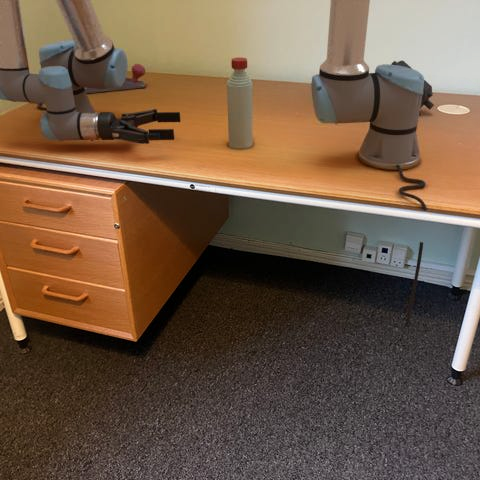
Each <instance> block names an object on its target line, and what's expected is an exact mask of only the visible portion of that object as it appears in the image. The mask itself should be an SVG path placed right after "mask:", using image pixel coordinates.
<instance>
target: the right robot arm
mask: <svg viewBox="0 0 480 480" xmlns="http://www.w3.org/2000/svg"><path fill="white" fill-rule="evenodd" d="M370 3H371V0H330V4H329V5H330V7H329V19H328V33H327V34H328V35H327V50H326V59H325V60H324V61H323V62H322V63H320V65H319V72H318V73H316V74H314V75H312V76H311V83H310V85H311V87H310V88H311V99H312V106H313V111H314V114H315V118H316V119H317V120H318V122H320V123H321V124H334V125H338V124H355V123H356V124H357V123H369V126H368V130H367V132H366V135H364V136H365V137H364V138H363V141H362V143H361V145H360V147H359V151H358V159H359V160H360V162H362V163H363V164H364V165H367V166H369V167H372V168H374V169H378V170H385V171H398V173H399V176H400V178H401V179H402V180H404V181H405V182H410V183H419V184H412V185H411V184H410V185H404V186H401V187H399V189H398V193H399V195H401V196H403V197H408V198H411V199H413V200H415V201H416V202H418V203H419V204H420V205H421V207H422V210H423V211H425V212H426V211H428V207H427V206H426V203H425V202H424V200H423V199H422V198H421V197H419V196H417V195H415V194H412V193H408V192H406V191H405V190H412V189H420V188H424V187H425V186H426V182H425V181H424V180H423V179H418V178H410V177H406V176H405V175H404V172H403V170H408V169H412V168H414V167H416V166H418V164H419V163H420V158H421V153H420V151H421V150H420V146H419V140H418V135H417V130H418V124H419V119H420V111H421V109H420V107H421V101H422V95H423V93H424V92H423V86H424V80H425V77H424V75H423V74H422V73H421V72H420V71H418V70H416V69H413V68H412V67H411V68H412V69H411V68H407V67H403V66H398V65H391V64H386V63H385V64H379V65H377V66H376V68H375V69H374V72H370V66H369V65H368V64H367V62H366V61H365V51H366V42H367V41H366V40H367V31H368V22H369V14H370ZM423 248H424V242H422V241H419V246H418V253H417V254H418V255H417V260H416V265H415V273H414V278H413V283H412V287H411V291H410V292H411V293H410V298H409V301H408V307H407V312H406V318H405V323H404V327H405V328H408V327H409V324H410V319H411V313H412V308H413V303H414V299H415V293H416V288H417V284H418V280H419V274H420V270H421V269H420V268H421V262H422V257H423V250H424V249H423Z"/></svg>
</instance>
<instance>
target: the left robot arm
mask: <svg viewBox="0 0 480 480" xmlns="http://www.w3.org/2000/svg"><path fill="white" fill-rule="evenodd" d="M55 2H56V5H57V7H58V10H59V11H60V13H61V16H62V18H63V20H64V23H65V25H66V27H67V29H68V32H69V33H70V37H71V38H72V39H71V40H62V41H57V42H52V43H49V44H45V45H43V46H41V47H40V48H39V49H38V57H39V65H40V69H39V71H38V73H31V72H30V67H29V59H28V51H27V45H26V44H27V43H26V37H25V29H24V22H23V21H24V20H23V15H22V6H21V0H0V100H2V101H9V102H13V103H31V104H37V108H38V109H39V110H45V112H44V113H43V114H42V115H41V117H40V120H39V123H40V131H41V134H42V136H43V137H44V139H46V140H48V141H59V142H64V141H90V142H92V143H93V142H94V141H100V140H102V141H114V140H120V141H125V142H131V143H136V144H140V145H141V144H142V145H144V144H145V145H148V144H150V141H174V140H175V129H174V128H149V129H148V130H145V129H144V128H140V126H144V125H147V124H151V123H155V122H157V123H181V112H180V111H158V108H153V109H149V110H143V111H135V112H130V113H129V112H127V113H121V117H116V115H115V113H114V112H113V111H101V112H98V111H96V110H95V107H94V105H92V103H91V101H90V99H89V96H88V93H86V92H85V88H96V89H106V90H109V89H118V88H120V87H121V86H122V85H123V83H124V81H125V79H126V78H127V75H128V67H129V65H128V58H127V54H126V52H125V50H123V49H121V48H120V47H119V48H116V47H115V45H114V43H113V39H111V37H109V36H108V35H107V34H104V31H103V29H102V26H101V23H100V21H99V19H98V15H97V13H96V10H95V8H94V6H93V3H92V0H55ZM42 104H43V105H45V106H42Z"/></svg>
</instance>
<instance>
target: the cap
mask: <svg viewBox="0 0 480 480" xmlns="http://www.w3.org/2000/svg"><path fill="white" fill-rule="evenodd" d="M230 62H231V69H232V70H234V69H237V70H241V69H245V70H246V69H247V68H248V58H246V57H240V56H239V57H233V58H231V61H230Z"/></svg>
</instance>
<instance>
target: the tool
mask: <svg viewBox="0 0 480 480" xmlns="http://www.w3.org/2000/svg"><path fill="white" fill-rule="evenodd" d="M390 65H398V66H403V67H407V68H411V69H413V68H412V67H411V66H410V65H409V64H408V63H406V61H404V60H399V61H395V60H394V61H392V62H391V63H390ZM423 92H424V93H423V95H422V101H421V107H420V110H421V109H422V108H423V107H426V108H427V109H428V110H430V111H431V109H433V107H434V106H435V104H434V103H433V102H432V101H431V100H430V98H432V97H433V95H434V94H433V85H431V84H430V83H429V82H428V81H427V80H425V79H424V86H423Z"/></svg>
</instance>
